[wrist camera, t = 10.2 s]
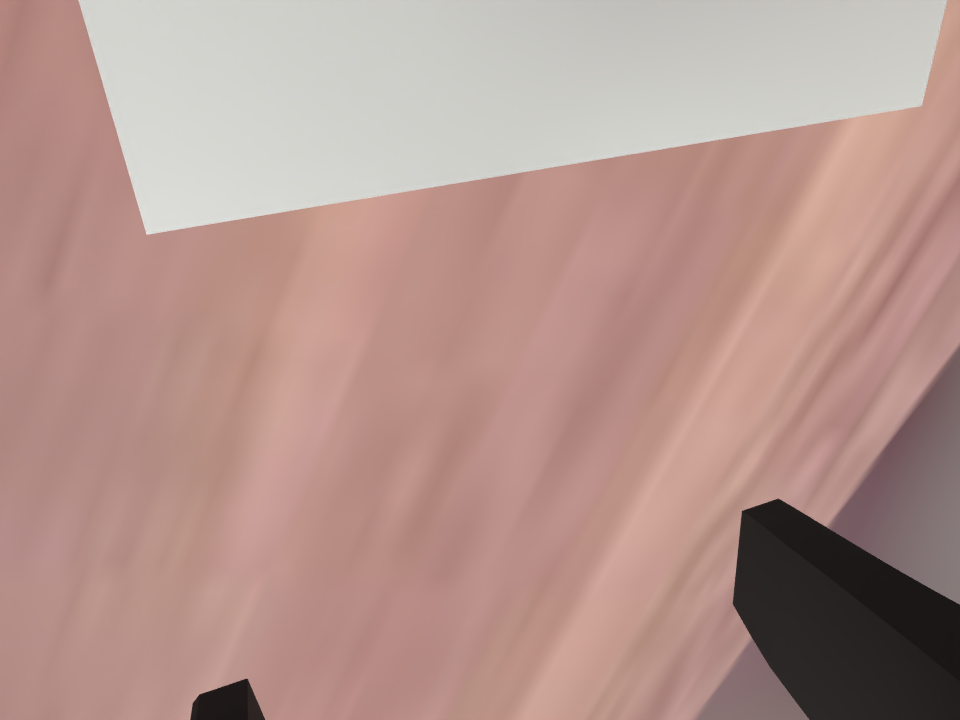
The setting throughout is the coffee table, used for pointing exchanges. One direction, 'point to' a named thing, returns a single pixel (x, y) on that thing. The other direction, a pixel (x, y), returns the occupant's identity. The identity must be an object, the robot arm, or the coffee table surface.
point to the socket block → (469, 88)
